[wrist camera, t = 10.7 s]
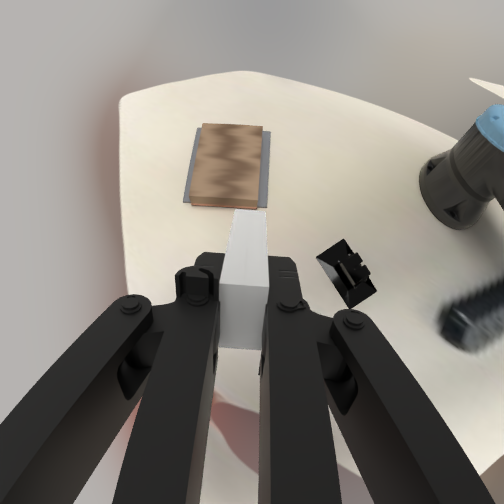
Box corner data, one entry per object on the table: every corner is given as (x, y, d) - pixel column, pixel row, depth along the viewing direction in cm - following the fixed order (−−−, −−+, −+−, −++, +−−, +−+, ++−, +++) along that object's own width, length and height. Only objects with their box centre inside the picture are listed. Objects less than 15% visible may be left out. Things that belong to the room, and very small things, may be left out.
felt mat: (270, 132, 51) (270, 131, 51) (266, 207, 47) (266, 206, 46) (197, 128, 51) (197, 127, 51) (183, 202, 47) (182, 201, 46)
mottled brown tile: (256, 209, 46) (261, 137, 50) (257, 200, 43) (262, 126, 48) (191, 204, 46) (204, 134, 50) (188, 195, 43) (202, 123, 47)
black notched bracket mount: (384, 297, 44) (397, 292, 39) (348, 323, 42) (359, 321, 38) (341, 230, 47) (350, 219, 42) (303, 253, 45) (310, 243, 41)
